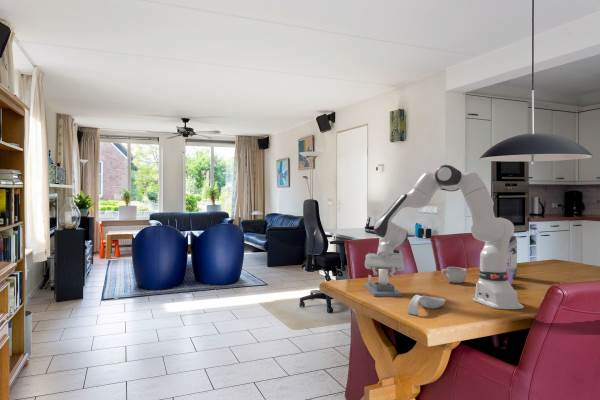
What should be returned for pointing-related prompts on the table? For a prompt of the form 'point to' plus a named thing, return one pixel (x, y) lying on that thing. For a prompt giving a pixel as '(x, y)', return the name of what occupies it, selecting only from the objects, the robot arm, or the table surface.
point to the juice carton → (512, 256)
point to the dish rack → (381, 289)
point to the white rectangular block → (383, 277)
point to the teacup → (455, 274)
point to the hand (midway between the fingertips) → (383, 275)
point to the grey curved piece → (424, 303)
